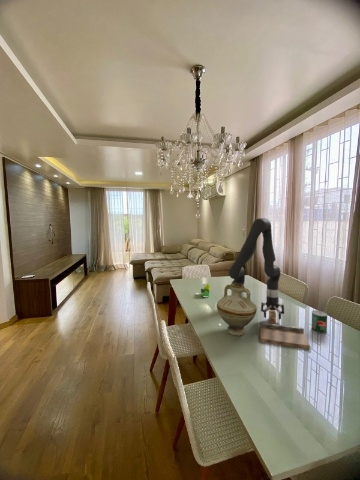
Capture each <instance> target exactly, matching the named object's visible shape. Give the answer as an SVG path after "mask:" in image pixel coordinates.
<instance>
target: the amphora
mask: <svg viewBox="0 0 360 480" xmlns="http://www.w3.org/2000/svg"><path fill="white" fill-rule="evenodd" d="M229 290H230V291H231V290H232V291H233V294H232V295H231V294H230V295H228V291H229ZM223 292H224V293H223V296H222V297H221V299H219V300H218V301H217V302H216V310H217V312H218V314H219V316H220V318H221V319H222V320H223V322H225V323H226V324H227V325H228V326H227V329H226V332H227V333H228V332H229V334H230V335H232V336H235V335H237V337H240V335H241V336H243V335H245V334H246V328H245V327H246V326H247V325H249V324H250V323H251V322H252V320H254V318H255V316H256V314H257V309H258V307H257V305H256V303H254V302H253V301H252V300H251V291H250V289H249V288H247V287H245V284H244V285H242V284H237V283H233V284H231V283H230V284H227V285H226V286H225V287H224V291H223ZM242 292H243V293H246V296H242V295H241V293H242Z"/></svg>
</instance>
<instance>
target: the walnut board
mask: <svg viewBox="0 0 360 480" xmlns="http://www.w3.org/2000/svg"><path fill="white" fill-rule="evenodd" d="M259 332H260V333H259V335H260V336H259V337H260V343H267V344H273V345H280V346H287V347H292V348H299V349H306V350H310V346H311V345H310V344H309V341H308V339H307V336H306V334H305V328H304V327H300V326H291V325H283V324H277V323H276V324H271V323H267V322H260V323H259Z"/></svg>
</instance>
